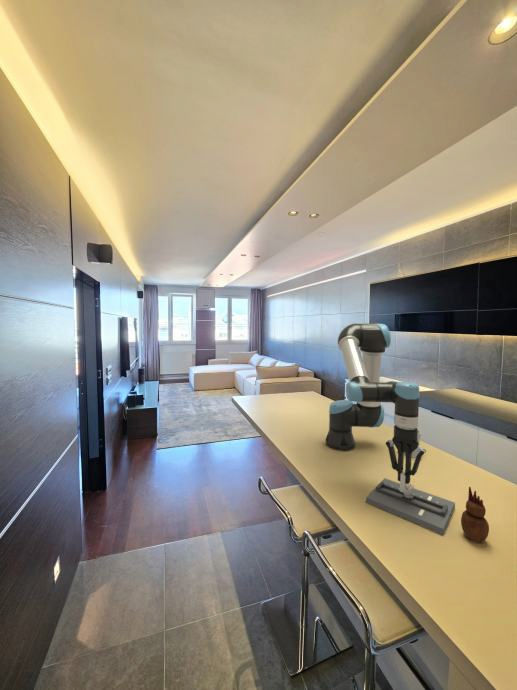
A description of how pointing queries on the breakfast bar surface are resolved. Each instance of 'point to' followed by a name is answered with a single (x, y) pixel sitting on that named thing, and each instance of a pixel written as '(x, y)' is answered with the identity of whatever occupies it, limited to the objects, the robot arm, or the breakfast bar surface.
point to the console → (412, 505)
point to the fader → (409, 492)
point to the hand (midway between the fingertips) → (403, 490)
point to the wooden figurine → (475, 519)
